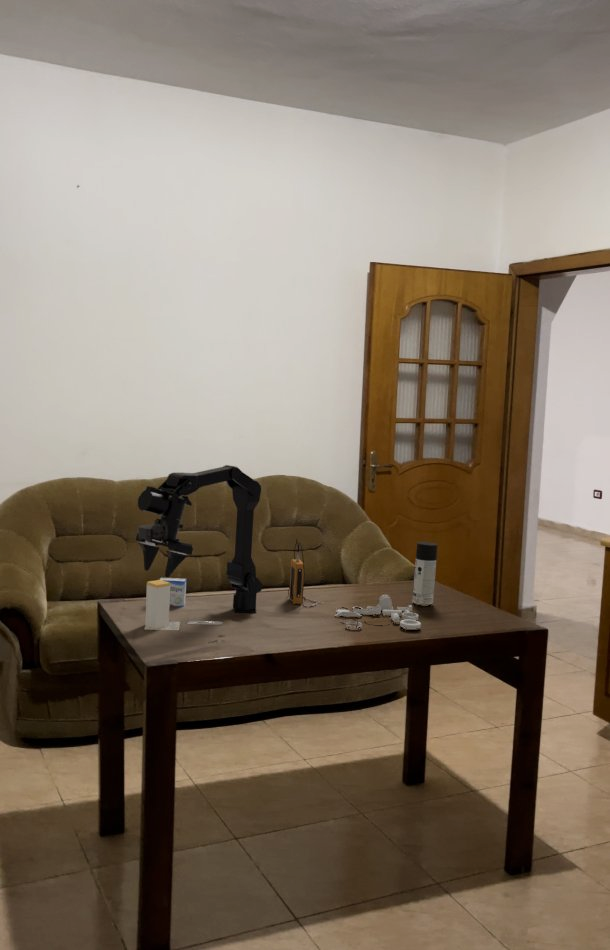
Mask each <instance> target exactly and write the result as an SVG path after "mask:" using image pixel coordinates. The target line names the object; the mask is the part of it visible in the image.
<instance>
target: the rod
mask: <svg viewBox="0 0 610 950" xmlns="http://www.w3.org/2000/svg"><path fill="white" fill-rule="evenodd" d="M186 624H187V625H210V626H211V625H215V626H217V625H219V626H220V625H221V626H223V625H224V621H219V620H218V621H213V620H211V621H210V620H186Z"/></svg>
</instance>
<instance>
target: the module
mask: <svg viewBox="0 0 610 950" xmlns="http://www.w3.org/2000/svg"><path fill="white" fill-rule="evenodd" d="M145 593H146V595H145V596H146V599H145V623H144V624H145V625H147V626H150V627H153V628H155V629H156V628H160V627H165V626H169V621H170V606H169V605H170V583H169V582H166V581H163V580H160V579H157V580H149V581H146V592H145Z"/></svg>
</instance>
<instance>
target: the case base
mask: <svg viewBox="0 0 610 950" xmlns="http://www.w3.org/2000/svg"><path fill="white" fill-rule="evenodd" d="M180 625H181V621H170V620H169V626H165V627H160V628H156V629H155V628H153V627H150V626H147V625H145V626H144V630H148V631H151V630H152V631H153V630H156V631H179V630H180Z"/></svg>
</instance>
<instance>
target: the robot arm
mask: <svg viewBox="0 0 610 950" xmlns="http://www.w3.org/2000/svg"><path fill="white" fill-rule="evenodd" d="M224 482H225V483H226V485H227V486H228V488H230V490H232V491H231V492H232V499H233V502H234V505H235V507H236V510H237V511H236V522H235V523H236V526H235V543H234V546H235V547H234V556H233V558H232V560H231V561H227V563H226V573H225V575H226V576H227V580H228V581H229V584H230V587H231V589H234V590H235V591H234V593H233V595H232V609H234V613H257V594H258V593H260V592H262V589H263V586H264V584H263V583H262V582H261V581H260V580H259V578H258V577H257V569H256V564H255V563H254V560H253V559H252V549H253V535H254V534H253V531H254V517H255V516H254V513H255V509H256V507H257V506H258V504H259V502H260V499H261V493H262V485H261V484H260V483H259V481H257V480H254V479H253V478H252V477H250V476H249V475H248V474H246V473H244V472H243V471H242V470H241V469H240V468H239V467H238V466H237V465H236V466H234V465H229V464H225V465H223V466H220V467H219V466H218V467H216V468H215V467H214V468H211V469H206V470H201V471H197V472H171V473H169V474H168V476H167V478H166V479H165V481H163V482H162V483H161V484H160V485H159V486H158V487H157V488H156V487H154V486H150V485H147V486H146V488H145V490H142V492H141V493H140V495H139V496H138V499H137V507H138V509H139V510H141V511H142V512H146V513H149V514H154V515H158V516H159V515H160V517H159V518H156V519H155V520H154V523H151V524H149V523H148V524H143V525H139V526H138V533H136V537H135V541H137V545H139V546H140V547H141V549H142V553H143V568H144V571H146V572H148V571H149V570H150V568H151V567H152V564H153V563H154V561H155V558H156V556H157V554H158V552H159V550H160V546H162V547H166V548H167V549H168V550H165V552H166V555H167V562H166V567H165V573H164V578H170V577H171V575H172V574H173V573H174V571H176V569H177V568H178V567H179V565H181V563H182V562H184V560H185V559H187V558H189V555H191V556H193V553H194V546H193V544H191V543H188V542H183V541H180V539H179V538H177V537H178V533H179V530H180V529H183V526H184V524H181V521H182V518H183V514H184V511H185V507H186V506H188V507H191V506H193V504H192V501H190V499H189V495H192V494H194V493H196V492H197V491H198V490H199V489H200V488H205V487H208V486H211V485H215V484H221V483H224Z"/></svg>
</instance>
